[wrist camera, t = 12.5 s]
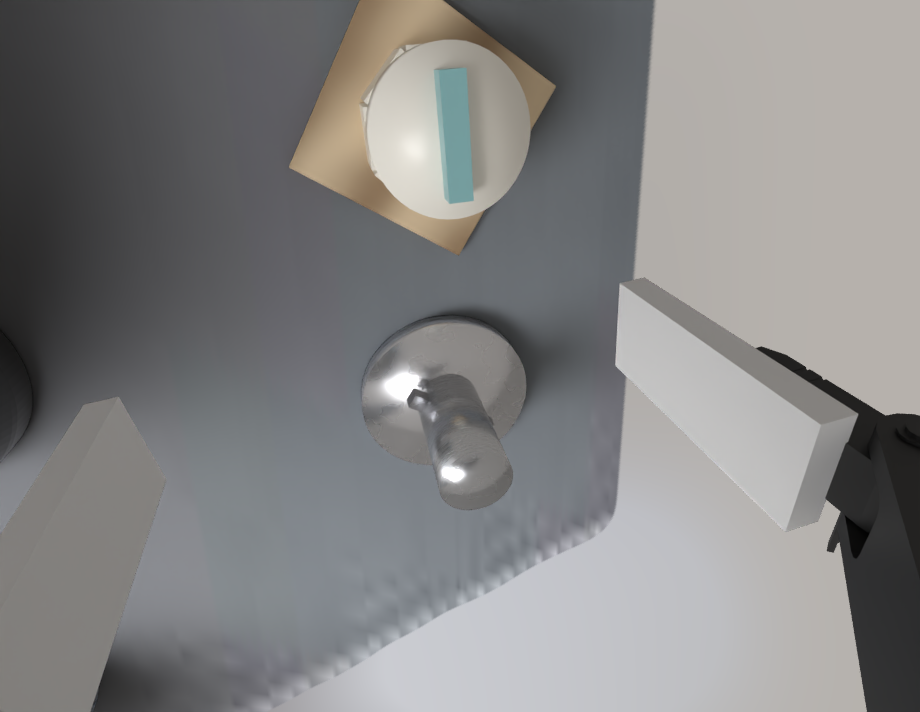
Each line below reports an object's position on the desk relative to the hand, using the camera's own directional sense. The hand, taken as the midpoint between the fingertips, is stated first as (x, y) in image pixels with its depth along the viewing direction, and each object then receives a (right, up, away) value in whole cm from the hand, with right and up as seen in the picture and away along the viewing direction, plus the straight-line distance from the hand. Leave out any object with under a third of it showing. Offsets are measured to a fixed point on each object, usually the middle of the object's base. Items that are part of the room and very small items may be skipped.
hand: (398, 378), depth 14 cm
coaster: (0, +14, +15) cm, 20 cm away
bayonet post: (0, -2, +24) cm, 24 cm away
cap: (0, +13, +15) cm, 20 cm away
